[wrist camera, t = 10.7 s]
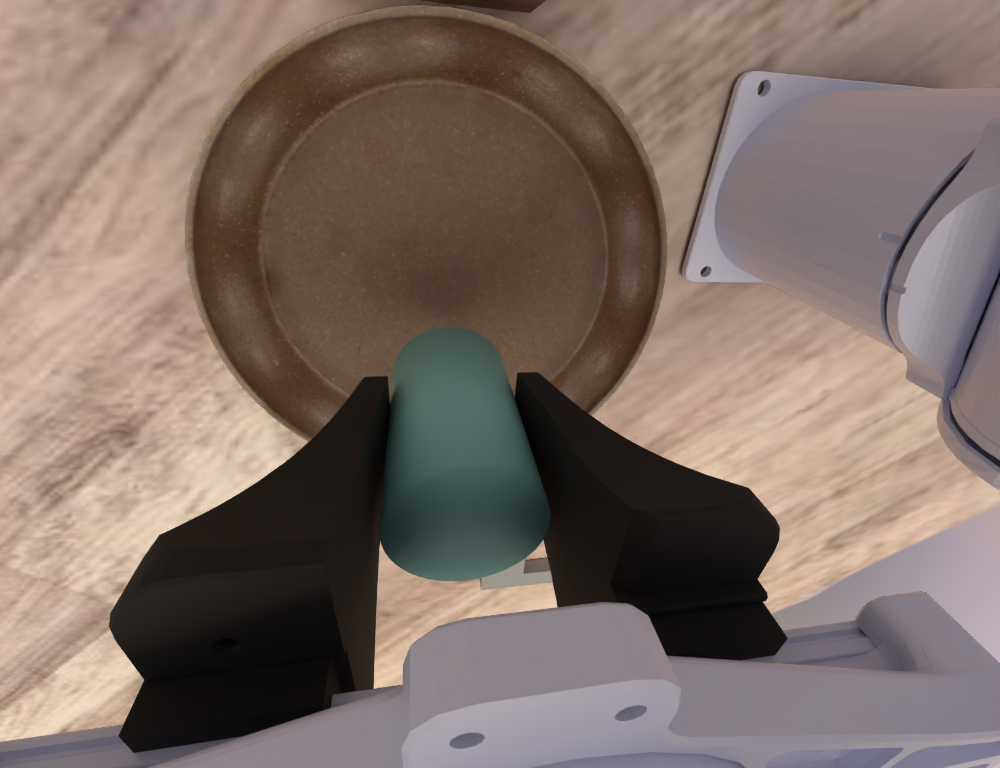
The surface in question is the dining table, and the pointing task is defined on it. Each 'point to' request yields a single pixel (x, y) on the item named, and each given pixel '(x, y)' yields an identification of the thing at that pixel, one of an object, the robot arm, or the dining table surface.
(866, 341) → the dining table surface
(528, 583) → the socket block
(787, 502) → the dining table surface
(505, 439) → the dowel
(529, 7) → the stop block
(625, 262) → the plant saucer
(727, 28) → the dining table surface
